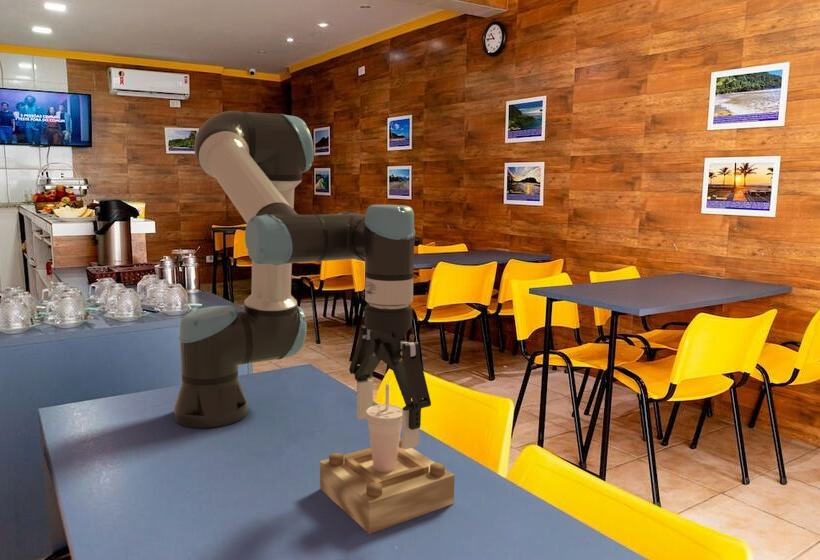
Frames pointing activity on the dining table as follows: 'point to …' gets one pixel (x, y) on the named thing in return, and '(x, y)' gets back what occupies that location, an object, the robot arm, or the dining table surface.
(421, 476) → the base brick
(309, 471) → the dining table surface
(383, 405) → the smoothie
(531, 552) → the dining table surface
